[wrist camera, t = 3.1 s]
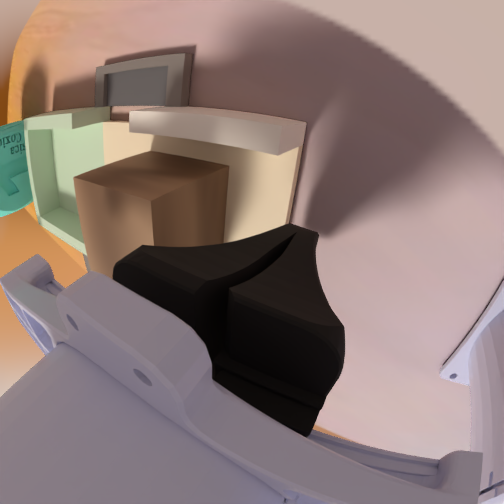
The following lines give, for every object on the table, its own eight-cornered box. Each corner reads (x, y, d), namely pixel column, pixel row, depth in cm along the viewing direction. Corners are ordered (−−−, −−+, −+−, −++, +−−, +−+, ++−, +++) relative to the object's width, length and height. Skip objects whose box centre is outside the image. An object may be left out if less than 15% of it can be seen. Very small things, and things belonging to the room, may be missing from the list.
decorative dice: (52, 194, 23) (-11, 227, 16) (27, 181, 25) (-24, 207, 19) (45, 118, 18) (-28, 143, 12) (21, 119, 20) (-36, 140, 14)
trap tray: (316, 59, 9) (293, 43, 7) (264, 337, 17) (243, 371, 15) (52, 81, 16) (23, 87, 13) (67, 236, 24) (45, 249, 22)
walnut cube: (229, 165, 12) (151, 201, 8) (222, 257, 15) (162, 313, 11) (150, 150, 14) (73, 177, 10) (153, 230, 16) (91, 270, 13)
